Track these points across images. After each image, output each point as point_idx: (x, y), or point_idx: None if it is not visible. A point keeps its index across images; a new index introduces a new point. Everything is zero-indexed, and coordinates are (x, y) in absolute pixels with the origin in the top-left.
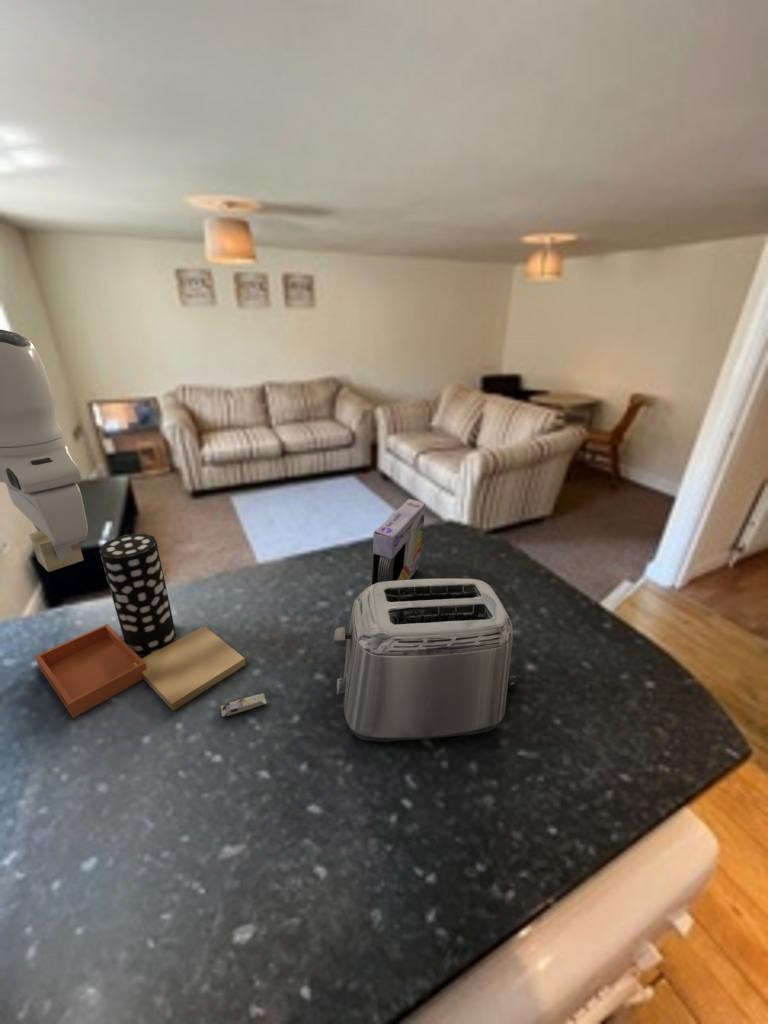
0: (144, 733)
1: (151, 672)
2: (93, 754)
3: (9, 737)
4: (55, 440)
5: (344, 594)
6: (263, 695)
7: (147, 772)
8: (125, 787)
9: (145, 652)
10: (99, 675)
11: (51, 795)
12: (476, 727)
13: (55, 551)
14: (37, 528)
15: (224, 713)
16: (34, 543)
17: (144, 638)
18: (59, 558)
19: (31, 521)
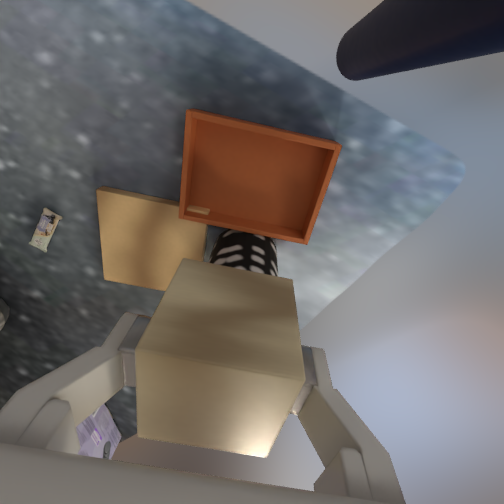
0: (94, 144)
1: (170, 213)
2: (107, 84)
3: (234, 29)
4: None
5: (128, 386)
6: (42, 249)
7: (30, 106)
8: (26, 75)
9: (222, 234)
10: (238, 177)
11: (78, 5)
12: None
13: (119, 338)
14: (331, 415)
15: (45, 211)
16: (250, 340)
17: (216, 247)
18: (122, 316)
19: (238, 493)
